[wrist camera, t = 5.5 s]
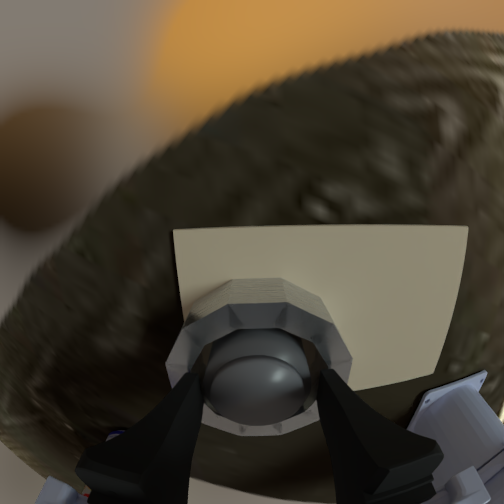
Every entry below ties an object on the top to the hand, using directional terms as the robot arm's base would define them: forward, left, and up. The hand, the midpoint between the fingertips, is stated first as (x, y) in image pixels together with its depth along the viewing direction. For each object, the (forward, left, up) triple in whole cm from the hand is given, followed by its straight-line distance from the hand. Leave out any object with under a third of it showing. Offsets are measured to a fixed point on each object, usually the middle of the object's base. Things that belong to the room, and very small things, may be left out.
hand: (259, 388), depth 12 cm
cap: (0, 0, -3) cm, 3 cm away
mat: (+2, -4, -3) cm, 6 cm away
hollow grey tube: (0, 0, -3) cm, 3 cm away
